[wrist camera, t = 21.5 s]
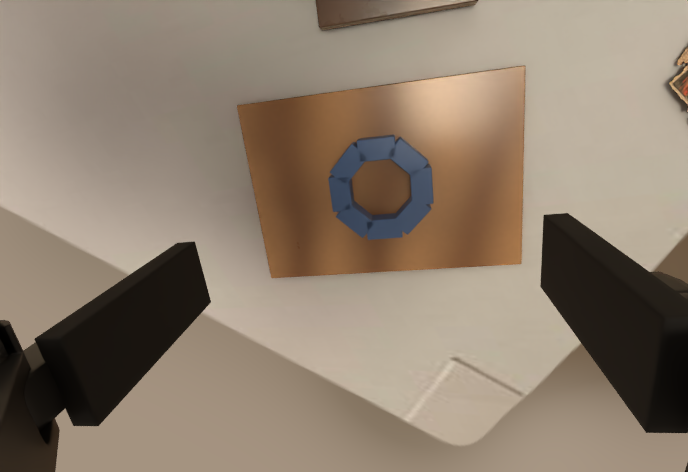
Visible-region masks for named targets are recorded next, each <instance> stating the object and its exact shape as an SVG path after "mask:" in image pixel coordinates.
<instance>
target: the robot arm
mask: <svg viewBox="0 0 688 472" xmlns="http://www.w3.org/2000/svg"><path fill="white" fill-rule="evenodd" d="M541 288H542V289H543V291H544V292H545V293H546V295H547V296H548V297H549V299H550V300H551V302H552V303H553V304H554V306H555V307H556V308H557V310H558V311H559V313H560V314H561V315H562V317H563V318H564V320H565V321H566V322H567V324H568V325H569V326H570V328H571V329H572V331H573V332H574V333H575V335H576V336H577V337H578V339H579V340H580V342H581V343H582V344H583V346H584V347H585V348H586V350H587V351H588V353H589V354H590V355H591V357H592V358H593V360H594V361H595V362H596V364H597V365H598V366H599V368H600V369H601V371H602V372H603V373H604V375H605V376H606V378H607V379H608V380H609V382H610V383H611V384H612V386H613V387H614V389H615V390H616V391H617V393H618V394H619V396H620V397H621V398H622V400H623V401H624V402H625V404H626V405H627V407H628V408H629V409H630V411H631V412H632V413H633V415H634V416H635V418H636V419H637V420H638V422H639V423H640V425H641V426H642V427H643V429H644V430H645V431H646V433H648V432H649V433H688V284H686V283H685V282H684V281H682V280H680V279H677V278H675V277H672V276H670V275H667V274H664V273H662V272H649V271H647V270H646V269H645V268H643V267H642V266H640V265H639V264H638V263H636V262H635V261H633V260H632V259H631V258H629V257H628V256H626V255H625V254H624V253H622V252H621V251H620V250H618V249H617V248H615V247H614V246H613V245H611V244H610V243H608V242H607V241H606V240H604V239H603V238H601V237H600V236H599V235H597V234H596V233H594V232H593V231H592V230H590V229H589V228H588V227H586V226H585V225H583V224H582V223H581V222H579V221H578V220H576V219H575V218H574V217H572V216H571V215H569V214H568V213H564V214H551V215H544V221H543V244H542V267H541ZM210 303H211V300H210V297H209V293H208V289H207V286H206V282H205V278H204V274H203V271H202V267H201V263H200V259H199V256H198V252H197V248H196V244H195V242H183V243H177V244H175V245H174V246H172V247H171V248H169V249H168V250H166V251H165V252H163V253H162V254H160V255H159V256H157V257H156V258H154V259H153V260H151V261H150V262H148V263H147V264H145V265H144V266H142V267H141V268H139V269H138V270H136V271H135V272H133V273H132V274H130V275H129V276H127V277H126V278H125V279H123V280H121V281H120V282H119V283H117V284H116V285H114V286H113V287H111V288H110V289H108V290H107V291H105V292H104V293H102V294H101V295H99V296H98V297H96V298H95V299H93V300H92V301H90V302H89V303H87V304H86V305H84V306H83V307H82V308H80V309H78V310H77V311H75V312H74V313H72V314H71V315H69V316H68V317H66V318H65V319H64V320H62V321H61V322H59V323H57V324H56V325H55V326H53V327H52V328H50V329H49V330H47V331H46V332H44V333H43V334H41V335H40V336H38V337H37V338H35V341H36V343H34V344H33V345H31V346H30V347H28V348H27V349H25V350H24V351H23V350H22V348H21V345H20V343H19V341H18V339H17V337H16V335H15V333H14V330H13V328H12V326H11V324H10V322H9V321H5V320H0V472H55V468H56V458H57V449H58V440H59V427H58V425H57V423H56V420H55V417H56V416H57V415H58V414H59V413H60V412H61V411H63V410H64V409H65V408H66V410H67V413H68V415H69V417H70V419H71V421H72V423H73V425H74V426H99V425H100V424H101V422H103V420H104V419H105V418H106V417H107V416H108V415H109V414H110V413H111V412H112V410H113V409H114V408H115V407H116V406H117V405H118V404H119V403H120V402H121V401H122V399H123V398H124V397H125V396H126V395H127V394H128V393H129V392H130V391H131V390H132V388H133V387H134V386H135V385H136V384H137V383H138V382H139V381H140V380H141V379H142V377H143V376H144V375H145V374H146V373H147V372H148V371H149V370H150V369H151V367H152V366H153V365H154V364H155V363H156V362H157V361H158V360H159V359H160V358H161V356H162V355H163V354H164V353H165V352H166V351H167V350H168V349H169V348H170V347H171V346H172V344H173V343H174V342H175V341H176V340H177V339H178V338H179V337H180V336H181V334H182V333H183V332H184V331H185V330H186V329H187V328H188V327H189V326H190V325H191V324H192V322H193V321H194V320H195V319H196V318H197V317H198V316H199V315H200V314H201V312H202V311H203V310H204V309H205V308H206V307H207V306H208V305H209V304H210ZM685 472H688V463H687V466H686V470H685Z"/></svg>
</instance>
